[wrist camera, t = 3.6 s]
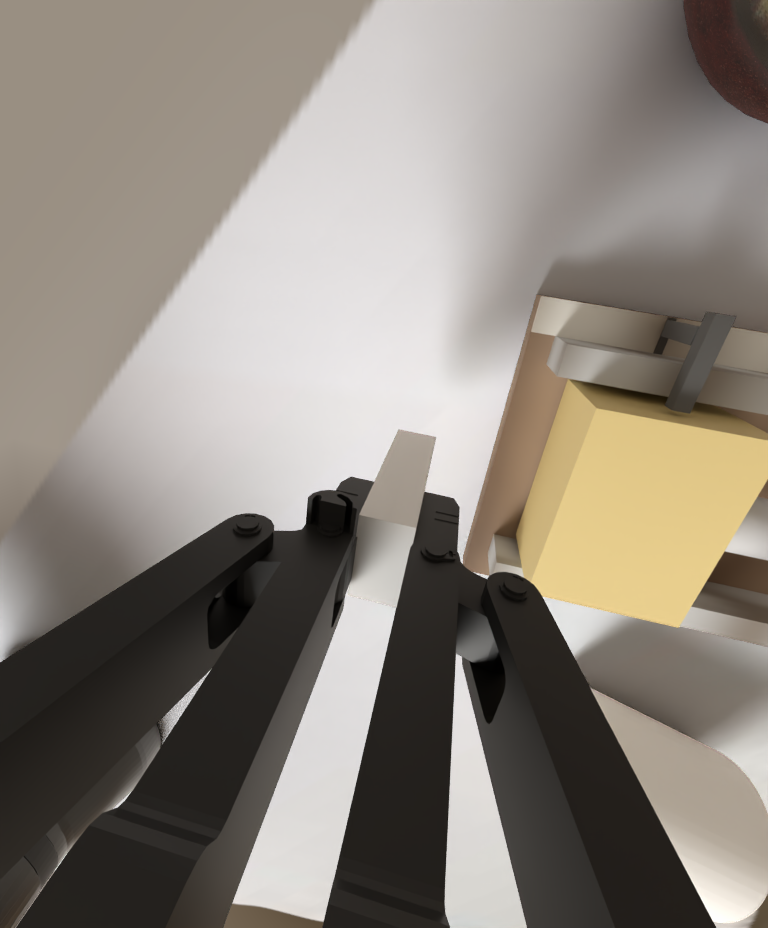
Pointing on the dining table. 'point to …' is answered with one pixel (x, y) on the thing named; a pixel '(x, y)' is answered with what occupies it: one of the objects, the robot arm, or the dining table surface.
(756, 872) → the mug
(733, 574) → the bench
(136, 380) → the dining table surface
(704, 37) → the vase
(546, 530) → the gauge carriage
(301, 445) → the dining table surface
